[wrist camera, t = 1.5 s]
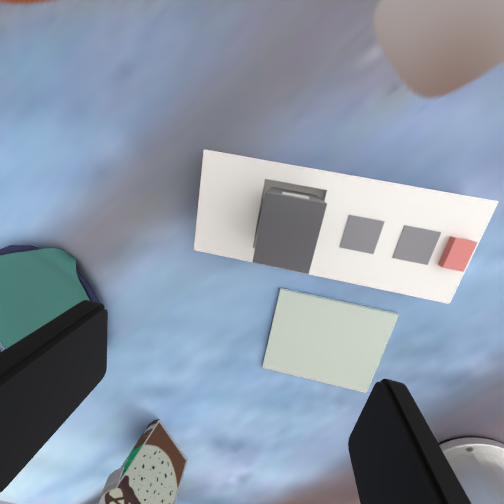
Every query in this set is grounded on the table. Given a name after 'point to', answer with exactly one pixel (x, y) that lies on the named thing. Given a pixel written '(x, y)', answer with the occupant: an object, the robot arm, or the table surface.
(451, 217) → the power strip
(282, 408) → the table surface
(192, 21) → the table surface
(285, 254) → the block
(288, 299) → the mat
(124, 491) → the food container
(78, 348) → the robot arm
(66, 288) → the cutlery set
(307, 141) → the table surface
